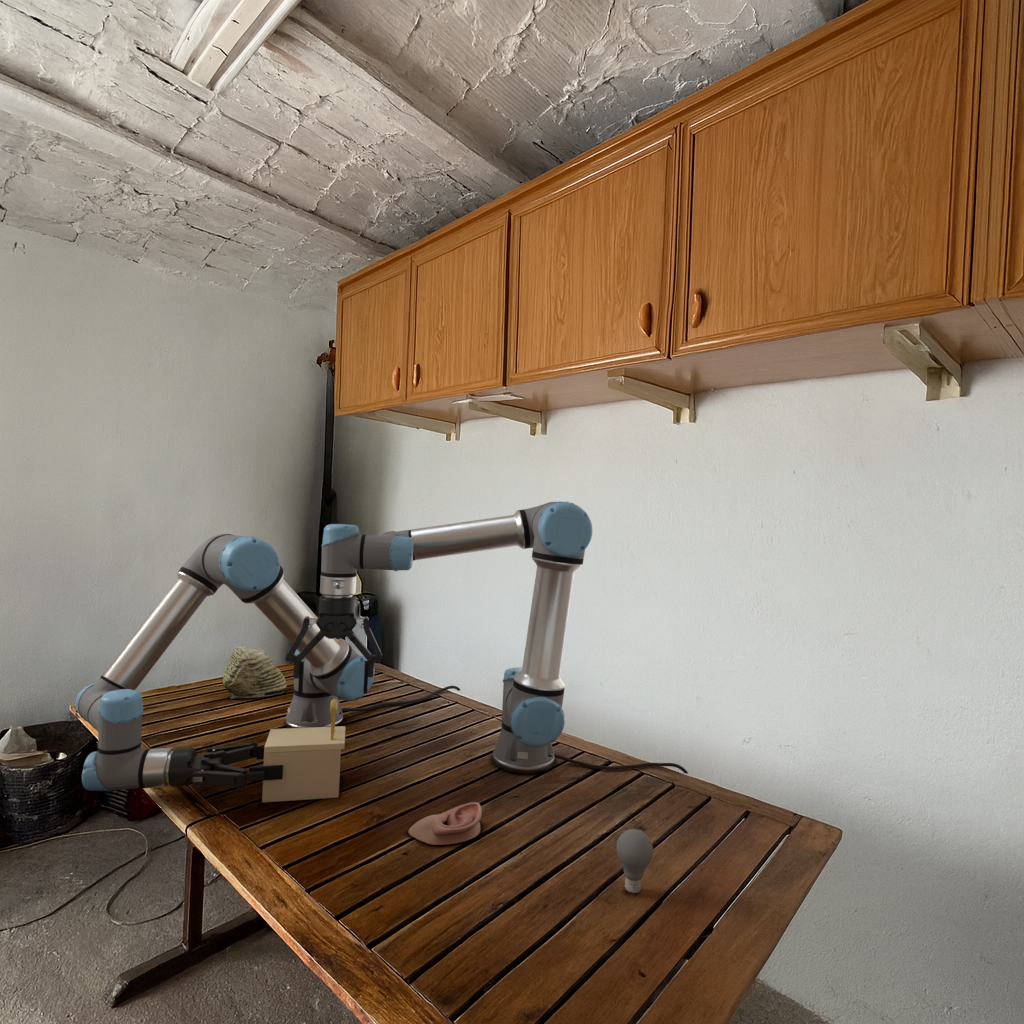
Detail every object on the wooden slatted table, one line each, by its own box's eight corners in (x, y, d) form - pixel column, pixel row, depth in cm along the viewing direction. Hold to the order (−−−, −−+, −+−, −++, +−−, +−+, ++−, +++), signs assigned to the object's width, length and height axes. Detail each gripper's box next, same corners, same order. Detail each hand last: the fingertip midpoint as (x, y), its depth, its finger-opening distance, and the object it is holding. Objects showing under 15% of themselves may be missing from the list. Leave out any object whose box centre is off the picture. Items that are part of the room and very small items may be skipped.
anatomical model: (402, 819, 118) (423, 791, 129) (402, 840, 118) (422, 811, 129) (471, 829, 115) (486, 801, 126) (470, 851, 115) (486, 820, 126)
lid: (345, 731, 144) (346, 695, 143) (344, 749, 134) (346, 710, 134) (270, 734, 140) (271, 697, 140) (264, 753, 130) (265, 713, 130)
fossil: (218, 695, 195) (220, 647, 195) (278, 685, 208) (279, 640, 207) (228, 703, 189) (230, 653, 188) (289, 692, 201) (290, 645, 201)
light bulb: (610, 879, 108) (613, 822, 108) (644, 879, 109) (647, 822, 109) (619, 902, 102) (622, 840, 102) (655, 901, 103) (658, 840, 103)
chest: (339, 776, 144) (341, 732, 143) (338, 797, 134) (340, 749, 134) (268, 780, 140) (270, 735, 140) (262, 802, 130) (264, 753, 130)
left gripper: (185, 762, 142) (290, 757, 147) (154, 812, 120) (278, 803, 125) (186, 729, 141) (291, 725, 147) (155, 772, 119) (279, 766, 125)
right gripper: (274, 597, 131) (270, 699, 131) (397, 598, 137) (392, 696, 137) (279, 591, 138) (274, 688, 138) (395, 593, 144) (390, 686, 144)
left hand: (285, 761), depth 136 cm, fingers closed on chest, 10 cm apart
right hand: (333, 692), depth 138 cm, fingers open, 13 cm apart
